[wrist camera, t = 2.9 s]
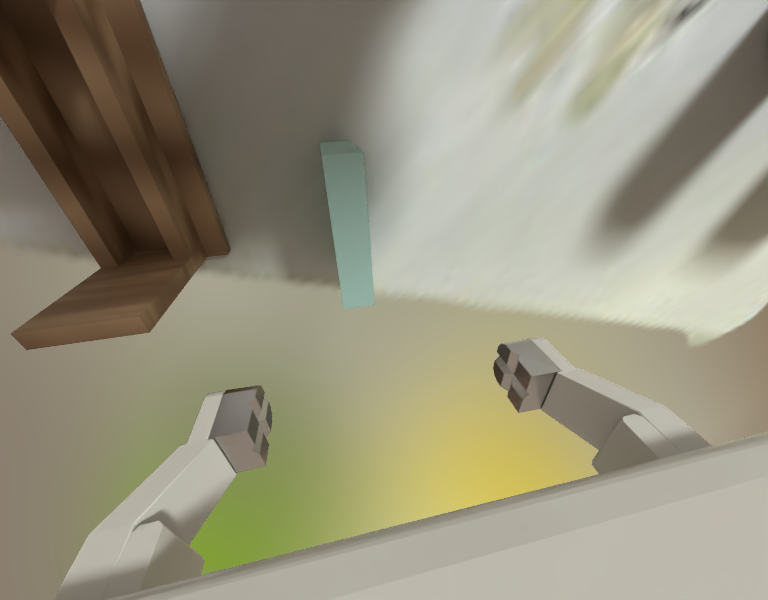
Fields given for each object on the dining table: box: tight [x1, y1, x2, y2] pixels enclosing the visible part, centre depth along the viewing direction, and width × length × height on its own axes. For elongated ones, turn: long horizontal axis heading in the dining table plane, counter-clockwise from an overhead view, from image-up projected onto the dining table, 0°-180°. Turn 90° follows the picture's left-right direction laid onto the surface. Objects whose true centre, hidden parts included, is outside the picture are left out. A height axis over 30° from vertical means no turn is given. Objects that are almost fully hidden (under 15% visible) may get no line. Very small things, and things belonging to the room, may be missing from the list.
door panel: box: [319, 140, 374, 309], centre depth 23 cm, size 11×2×9 cm, turn 2°
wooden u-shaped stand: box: [0, 0, 230, 350], centre depth 17 cm, size 18×10×12 cm, turn 2°
